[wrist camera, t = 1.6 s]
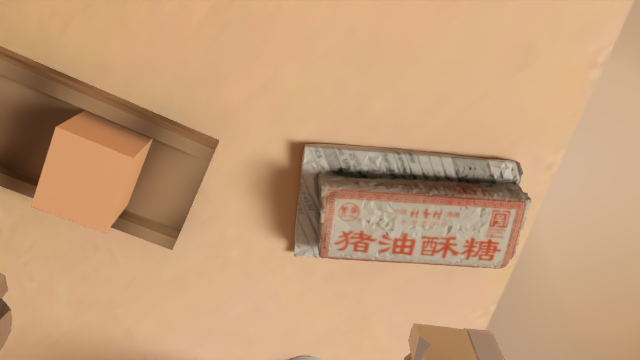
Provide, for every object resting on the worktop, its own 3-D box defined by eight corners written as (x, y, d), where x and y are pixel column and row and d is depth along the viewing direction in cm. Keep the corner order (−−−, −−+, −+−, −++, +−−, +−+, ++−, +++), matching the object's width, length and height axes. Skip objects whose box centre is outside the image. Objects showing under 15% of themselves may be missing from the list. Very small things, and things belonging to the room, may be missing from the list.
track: (-168, 103, 35) (-200, 111, 32) (-149, -18, 32) (-183, -19, 30) (178, 235, 40) (172, 250, 38) (219, 140, 38) (214, 150, 35)
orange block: (63, 179, 37) (30, 206, 32) (86, 109, 35) (55, 126, 30) (127, 204, 38) (105, 233, 33) (153, 137, 36) (133, 158, 31)
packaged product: (548, 176, 36) (515, 291, 39) (518, 156, 40) (491, 261, 44) (304, 158, 34) (293, 280, 37) (302, 139, 38) (292, 249, 42)
